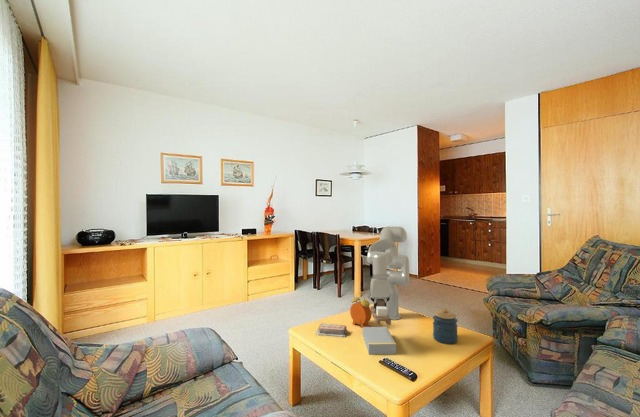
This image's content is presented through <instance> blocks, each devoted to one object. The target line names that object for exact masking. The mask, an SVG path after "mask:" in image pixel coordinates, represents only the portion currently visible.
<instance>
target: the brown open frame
mask: <svg viewBox="0 0 640 417" xmlns="http://www.w3.org/2000/svg"><path fill="white" fill-rule="evenodd" d="M376 303H377V306H385V301H384V299H383V298H377V300H376ZM370 309H371V314H372V315H371V317H372V318H373V319H374V321H375V324H376V327H381V322H385V323H386V326H391V325H392V320H391V318H390V317H389V315H388V314H387V316H377V314H376V311H375V310H374V305H372V306H370Z"/></svg>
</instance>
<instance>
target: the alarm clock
mask: <svg viewBox="0 0 640 417" xmlns="http://www.w3.org/2000/svg"><path fill="white" fill-rule="evenodd" d="M357 295H362V296H363V294H361V293H359V292H357ZM351 303H352V304H351V306H350V310H349V314H350V317H351V319H352V323H351V324H352V325H353V326H356V325H359V326H360V328H361V329H363V327H370V323H369V321H371V319H372V314H371V306H370V302H369V301H368V300H367V299H365V298H363V299H362V300H361V298H360V297H358V296H354V298H353V299H352V300H351Z"/></svg>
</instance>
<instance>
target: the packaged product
mask: <svg viewBox="0 0 640 417" xmlns="http://www.w3.org/2000/svg"><path fill="white" fill-rule="evenodd" d="M347 333H348V329H347V325H345V324H344V325H343V324H333V323H323V322H322V323H320V324H319V325H318V328H317V330H316V332H315V334H318V335H317V336H324V335H326V337H332V338H333V337H335V338H346V336H347ZM315 334H314V335H315Z"/></svg>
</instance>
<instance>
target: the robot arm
mask: <svg viewBox="0 0 640 417" xmlns="http://www.w3.org/2000/svg"><path fill="white" fill-rule="evenodd" d="M379 234H380V235H379V239H378V240H377V241H375V242H373V243H372V244H371V245H370V246H369V248H368V251H367V256H366V261H367V263H368V264H370V265H372V278H371V279H370V287H369V288H370V289H369V293H368V294H367V296H366V297H367V299H369V300H371V301H372V303H373V306H374V309H375V310H376V306H377V303H376V300H377V298H383V299H384V301H385V306H386V308H387V314H388V315H389V317H390V318H391V321H392V320H393V321H396V320H400V319H401V318H402V315H401V313H399V309H400V308H399V288H397V286H404V287H407V286H408V285H409V284H410V260H409V257H408V256H407V255H405V254H399V251H398V250H399V249H398V246H397V244H396V243H405V242H406V241H407V238H408V234H407V231H406V229H405V228H404V227H402V226H384V227H383V228H381V231H380V233H379ZM388 269H394V270H388Z"/></svg>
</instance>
